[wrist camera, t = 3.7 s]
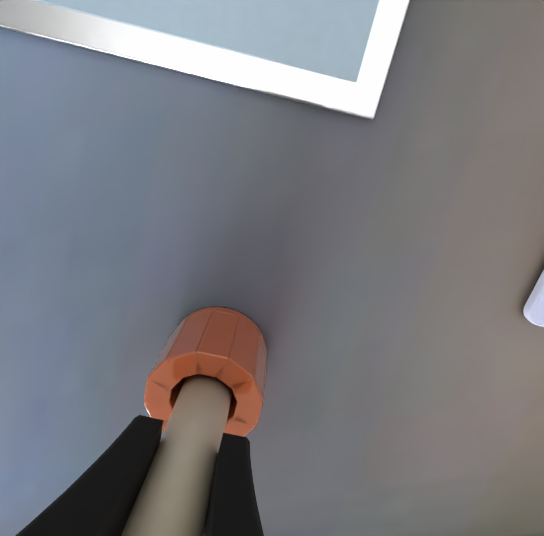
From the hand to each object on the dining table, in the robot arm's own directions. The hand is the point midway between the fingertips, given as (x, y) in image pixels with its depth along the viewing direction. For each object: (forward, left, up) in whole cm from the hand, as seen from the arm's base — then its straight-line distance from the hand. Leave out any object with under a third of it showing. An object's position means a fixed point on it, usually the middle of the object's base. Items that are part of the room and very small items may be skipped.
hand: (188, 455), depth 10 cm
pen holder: (0, 0, -5) cm, 5 cm away
